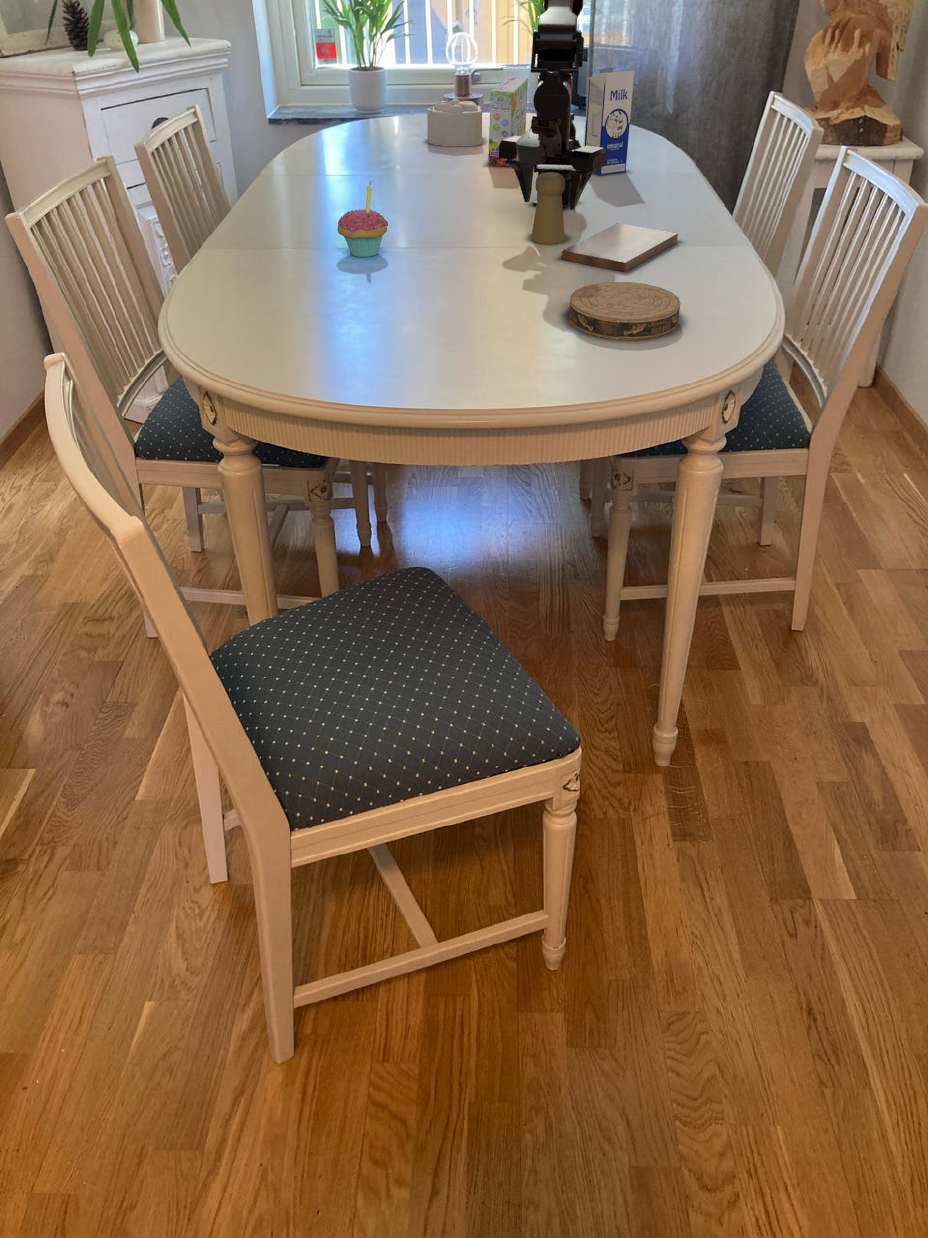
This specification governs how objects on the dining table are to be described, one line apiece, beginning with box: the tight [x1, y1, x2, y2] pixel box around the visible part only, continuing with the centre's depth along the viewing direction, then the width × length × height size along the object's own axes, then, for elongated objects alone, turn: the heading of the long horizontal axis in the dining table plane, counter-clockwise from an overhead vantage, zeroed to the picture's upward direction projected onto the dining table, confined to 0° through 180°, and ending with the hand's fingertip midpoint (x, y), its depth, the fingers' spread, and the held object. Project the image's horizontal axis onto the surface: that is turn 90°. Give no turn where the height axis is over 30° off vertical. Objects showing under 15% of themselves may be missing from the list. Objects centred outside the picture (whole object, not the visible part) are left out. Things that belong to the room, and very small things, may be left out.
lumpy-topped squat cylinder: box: [426, 98, 483, 147], centre depth 248 cm, size 10×13×9 cm
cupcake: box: [336, 180, 389, 258], centre depth 175 cm, size 9×8×12 cm
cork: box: [530, 172, 566, 245], centre depth 182 cm, size 6×6×11 cm
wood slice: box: [568, 281, 681, 341], centre depth 151 cm, size 16×16×3 cm
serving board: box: [561, 222, 679, 273], centre depth 179 cm, size 12×20×2 cm, turn 146°
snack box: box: [487, 76, 529, 167], centre depth 234 cm, size 21×6×15 cm, turn 168°
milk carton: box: [583, 67, 635, 176], centre depth 221 cm, size 7×7×20 cm
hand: (549, 205), depth 182 cm, fingers open, 9 cm apart
